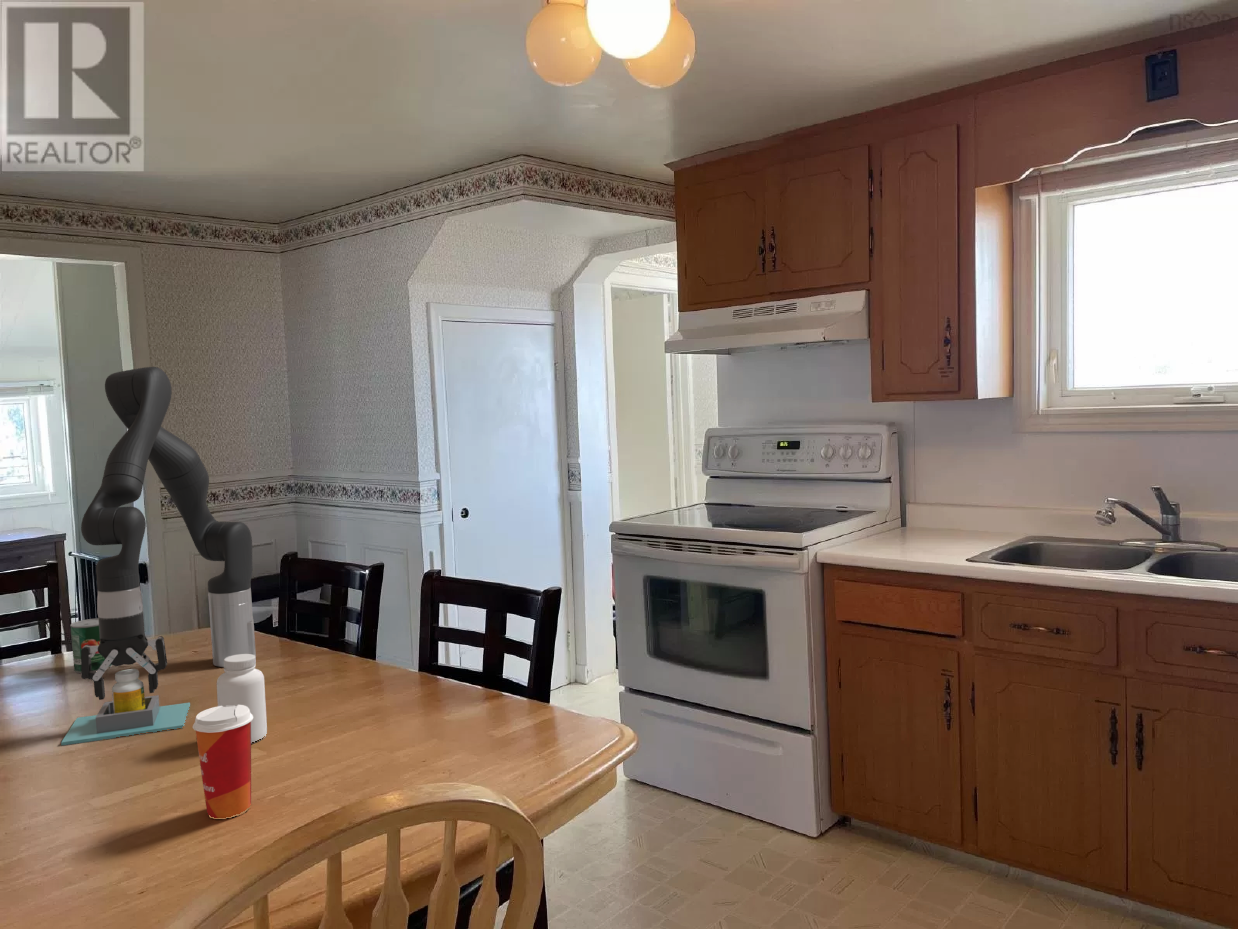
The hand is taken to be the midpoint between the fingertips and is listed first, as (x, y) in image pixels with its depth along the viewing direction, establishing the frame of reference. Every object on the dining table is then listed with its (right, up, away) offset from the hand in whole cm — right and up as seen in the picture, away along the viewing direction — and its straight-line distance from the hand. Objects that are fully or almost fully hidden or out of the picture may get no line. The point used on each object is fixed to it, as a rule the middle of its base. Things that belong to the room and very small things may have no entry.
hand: (127, 695), depth 174 cm
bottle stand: (0, -6, 0) cm, 6 cm away
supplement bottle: (0, -5, +1) cm, 5 cm away
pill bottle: (+26, -6, -9) cm, 28 cm away
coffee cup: (+36, -8, -39) cm, 53 cm away
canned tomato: (-29, -4, +40) cm, 49 cm away
